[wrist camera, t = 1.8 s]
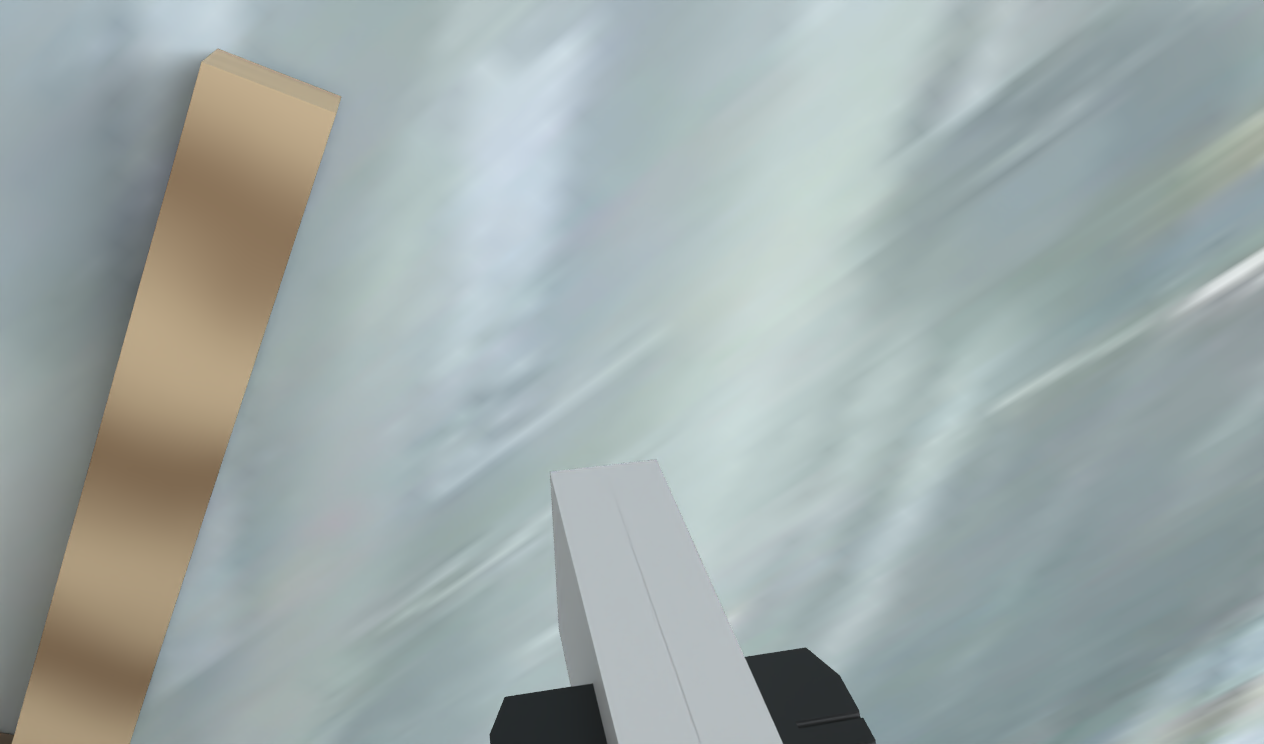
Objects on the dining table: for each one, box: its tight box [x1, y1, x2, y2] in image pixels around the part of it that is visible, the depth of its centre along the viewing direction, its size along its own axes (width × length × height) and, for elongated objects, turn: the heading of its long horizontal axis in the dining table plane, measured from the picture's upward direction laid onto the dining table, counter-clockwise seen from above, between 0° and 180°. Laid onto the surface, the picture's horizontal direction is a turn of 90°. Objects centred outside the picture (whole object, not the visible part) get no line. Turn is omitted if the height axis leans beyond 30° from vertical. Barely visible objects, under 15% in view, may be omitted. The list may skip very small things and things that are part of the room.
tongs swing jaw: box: [12, 49, 341, 744], centre depth 27 cm, size 22×3×2 cm, turn 156°
